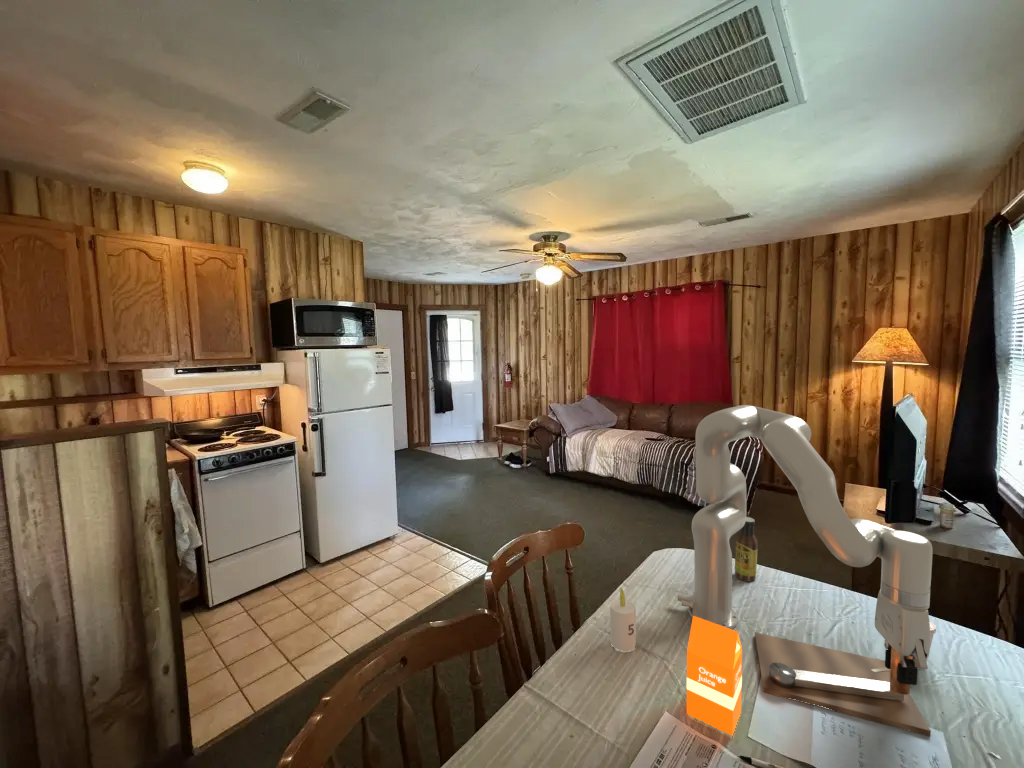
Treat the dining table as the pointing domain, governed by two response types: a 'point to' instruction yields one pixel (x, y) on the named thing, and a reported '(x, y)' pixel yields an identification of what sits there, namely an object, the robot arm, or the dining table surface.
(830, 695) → the lever base
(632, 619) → the candle
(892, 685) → the lever
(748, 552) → the sauce bottle
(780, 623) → the dining table surface
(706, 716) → the orange juice
